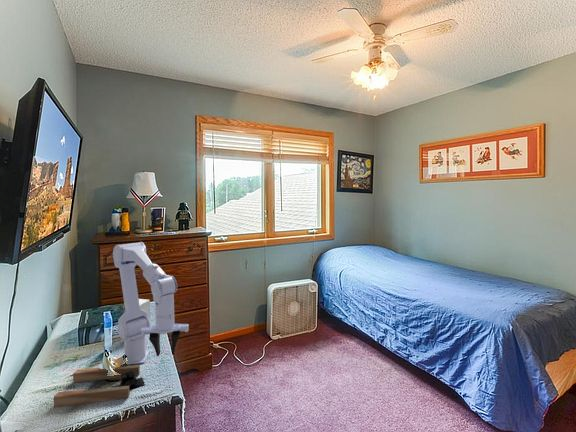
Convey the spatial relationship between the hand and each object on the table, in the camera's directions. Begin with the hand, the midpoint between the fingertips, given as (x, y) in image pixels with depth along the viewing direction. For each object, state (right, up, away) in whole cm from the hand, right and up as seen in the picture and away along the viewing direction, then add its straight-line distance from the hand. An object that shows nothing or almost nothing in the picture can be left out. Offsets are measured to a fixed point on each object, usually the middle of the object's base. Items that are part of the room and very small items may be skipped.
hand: (165, 353), depth 102 cm
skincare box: (-26, -7, +35) cm, 44 cm away
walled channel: (-20, -10, -4) cm, 22 cm away
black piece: (-11, -10, -2) cm, 16 cm away
